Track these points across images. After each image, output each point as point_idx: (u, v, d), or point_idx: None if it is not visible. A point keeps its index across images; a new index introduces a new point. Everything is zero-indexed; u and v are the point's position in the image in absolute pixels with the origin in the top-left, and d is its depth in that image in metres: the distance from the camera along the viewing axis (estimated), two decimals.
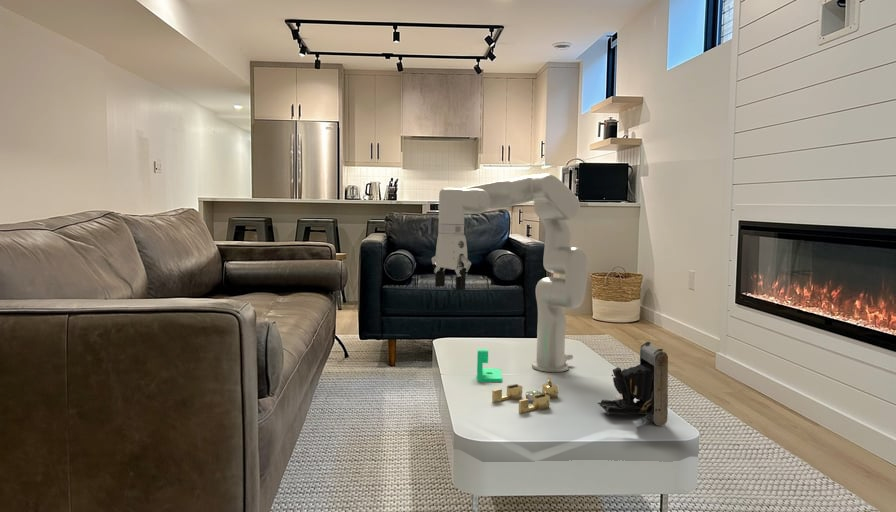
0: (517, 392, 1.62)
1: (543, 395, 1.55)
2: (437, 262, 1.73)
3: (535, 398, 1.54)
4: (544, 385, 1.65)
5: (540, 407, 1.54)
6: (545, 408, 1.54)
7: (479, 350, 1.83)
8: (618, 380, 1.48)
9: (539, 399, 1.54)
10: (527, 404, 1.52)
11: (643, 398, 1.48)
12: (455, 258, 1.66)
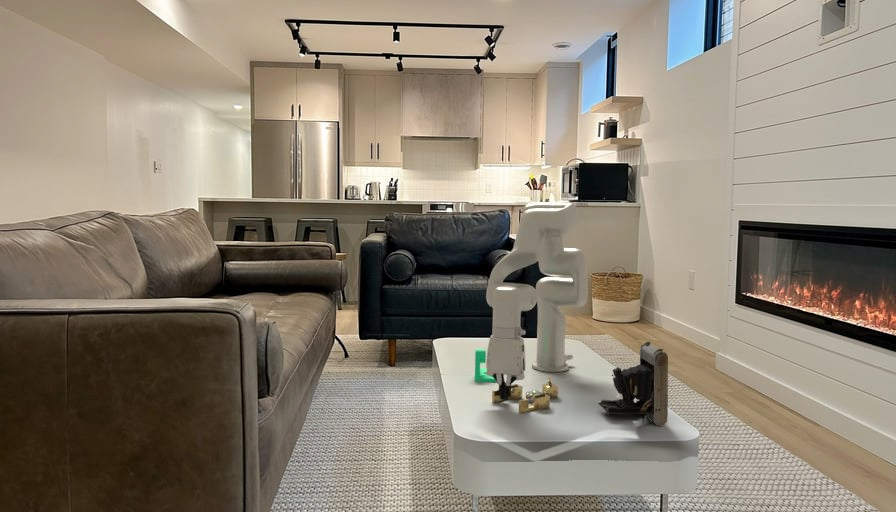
0: (517, 392, 1.62)
1: (543, 395, 1.55)
2: (490, 367, 1.57)
3: (535, 398, 1.54)
4: (544, 385, 1.65)
5: (540, 407, 1.54)
6: (545, 408, 1.54)
7: (477, 349, 1.83)
8: (618, 380, 1.48)
9: (539, 399, 1.54)
10: (527, 404, 1.52)
11: (643, 398, 1.48)
12: (520, 364, 1.54)
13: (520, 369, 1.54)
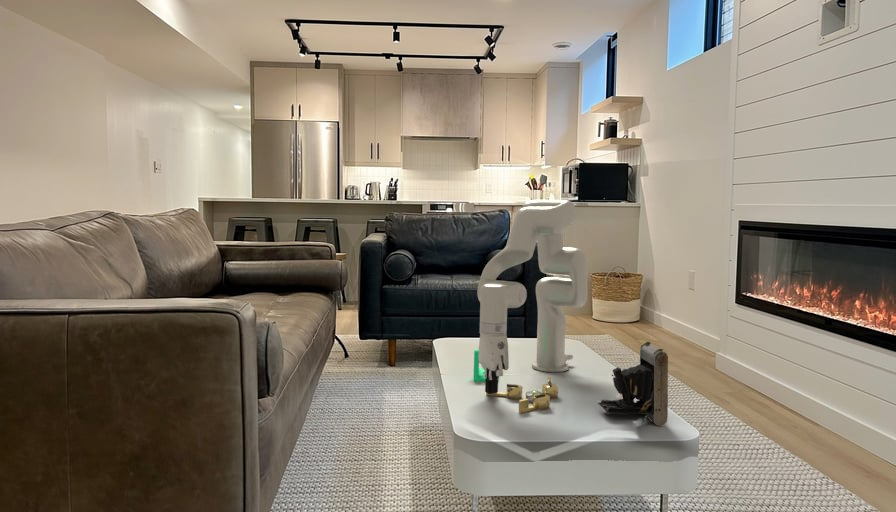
0: (510, 391, 1.62)
1: (543, 395, 1.55)
2: (479, 359, 1.65)
3: (535, 398, 1.54)
4: (544, 385, 1.65)
5: (540, 407, 1.54)
6: (545, 408, 1.54)
7: (476, 349, 1.83)
8: (618, 380, 1.48)
9: (539, 399, 1.54)
10: (527, 404, 1.52)
11: (643, 398, 1.48)
12: (494, 360, 1.57)
13: (494, 365, 1.57)
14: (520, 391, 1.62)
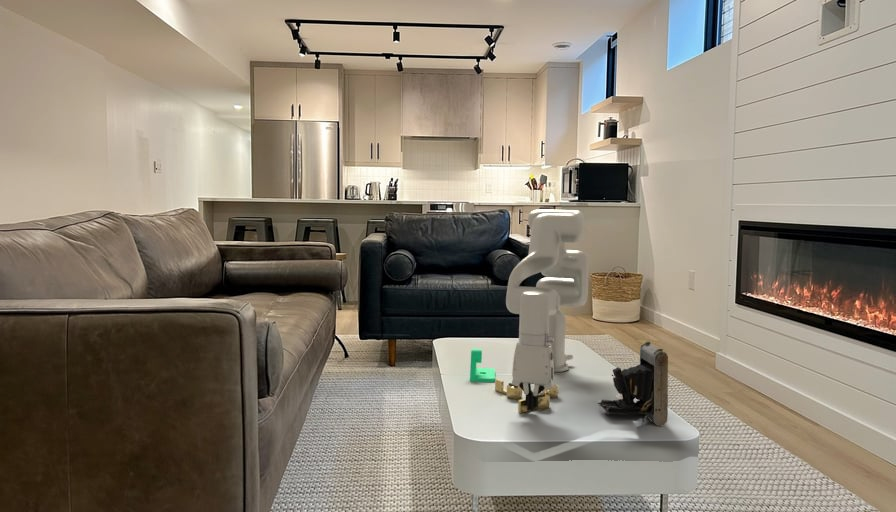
0: (507, 390, 1.63)
1: (543, 395, 1.55)
2: (516, 376, 1.49)
3: None
4: None
5: (540, 407, 1.54)
6: (545, 408, 1.54)
7: (473, 349, 1.84)
8: (618, 380, 1.48)
9: (539, 399, 1.54)
10: None
11: (643, 398, 1.48)
12: (548, 373, 1.46)
13: (549, 378, 1.46)
14: (515, 392, 1.62)
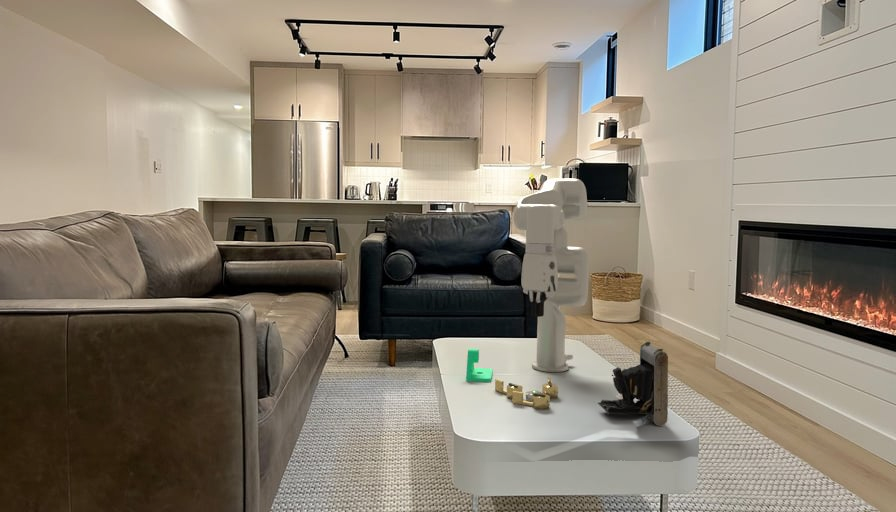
0: (507, 390, 1.63)
1: (542, 395, 1.55)
2: (523, 284, 1.61)
3: None
4: (544, 385, 1.65)
5: (533, 405, 1.55)
6: (536, 407, 1.54)
7: (469, 349, 1.84)
8: (618, 380, 1.48)
9: (533, 397, 1.55)
10: (521, 397, 1.57)
11: (643, 398, 1.48)
12: (546, 280, 1.54)
13: (546, 285, 1.54)
14: None
